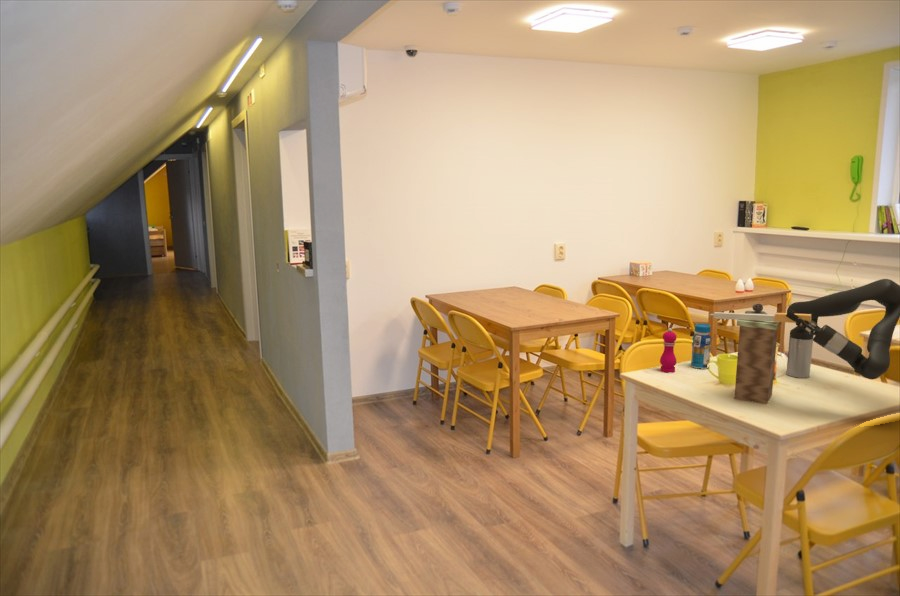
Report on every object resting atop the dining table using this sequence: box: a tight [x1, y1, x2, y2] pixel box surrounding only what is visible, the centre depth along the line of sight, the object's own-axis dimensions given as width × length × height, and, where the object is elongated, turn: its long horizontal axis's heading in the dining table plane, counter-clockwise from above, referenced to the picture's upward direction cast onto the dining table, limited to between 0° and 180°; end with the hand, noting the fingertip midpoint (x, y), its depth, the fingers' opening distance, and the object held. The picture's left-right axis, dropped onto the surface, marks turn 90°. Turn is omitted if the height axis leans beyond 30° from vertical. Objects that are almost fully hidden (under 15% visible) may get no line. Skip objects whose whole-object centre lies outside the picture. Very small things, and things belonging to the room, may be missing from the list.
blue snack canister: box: [690, 323, 712, 370], centre depth 304 cm, size 8×8×20 cm
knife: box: [709, 311, 811, 324], centre depth 255 cm, size 36×3×3 cm, turn 57°
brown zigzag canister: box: [733, 320, 782, 405], centre depth 262 cm, size 14×15×32 cm
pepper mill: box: [659, 327, 677, 373], centre depth 299 cm, size 7×7×20 cm
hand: (788, 312), depth 249 cm, fingers closed on knife, 3 cm apart
